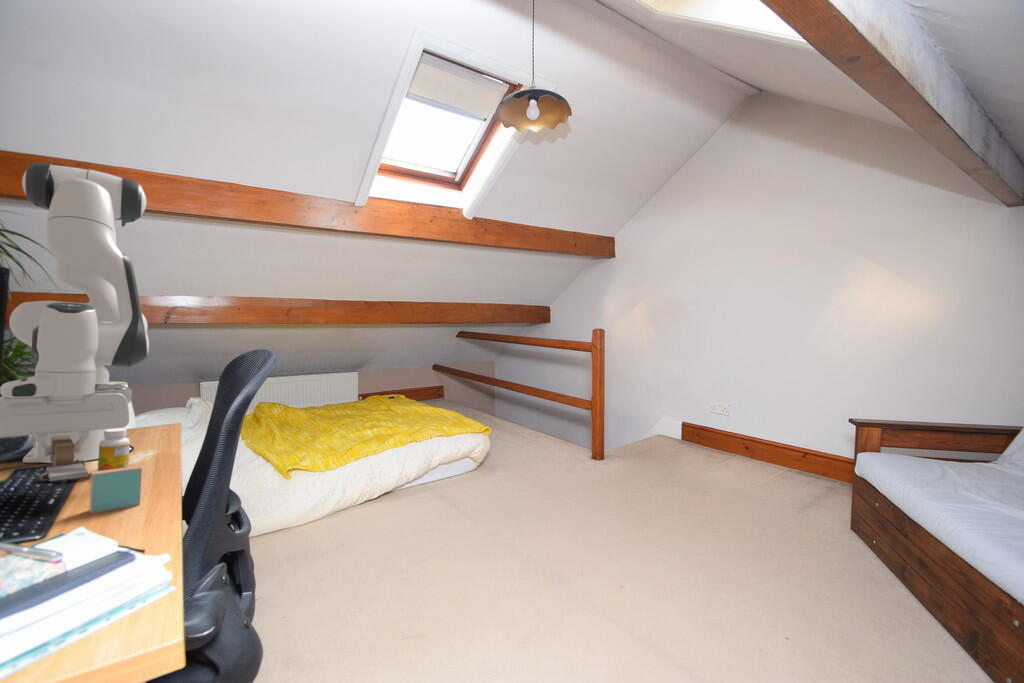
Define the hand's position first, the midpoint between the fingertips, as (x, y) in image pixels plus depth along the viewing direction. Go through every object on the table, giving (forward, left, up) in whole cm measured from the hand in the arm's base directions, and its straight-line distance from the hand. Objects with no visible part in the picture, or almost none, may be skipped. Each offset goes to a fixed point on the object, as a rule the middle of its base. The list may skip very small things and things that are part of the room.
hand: (61, 454), depth 94 cm
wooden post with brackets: (-10, +2, -8) cm, 13 cm away
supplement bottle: (-12, +10, -8) cm, 17 cm away
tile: (+16, +6, -8) cm, 19 cm away
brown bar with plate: (+3, 0, -2) cm, 4 cm away
